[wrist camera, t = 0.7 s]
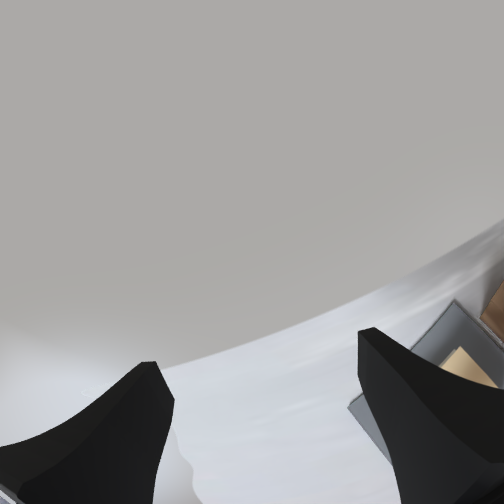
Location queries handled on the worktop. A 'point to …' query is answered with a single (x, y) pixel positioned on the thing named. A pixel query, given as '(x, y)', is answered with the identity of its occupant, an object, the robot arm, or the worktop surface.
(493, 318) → the walnut block
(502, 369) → the mat
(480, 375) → the oak block
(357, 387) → the worktop surface
